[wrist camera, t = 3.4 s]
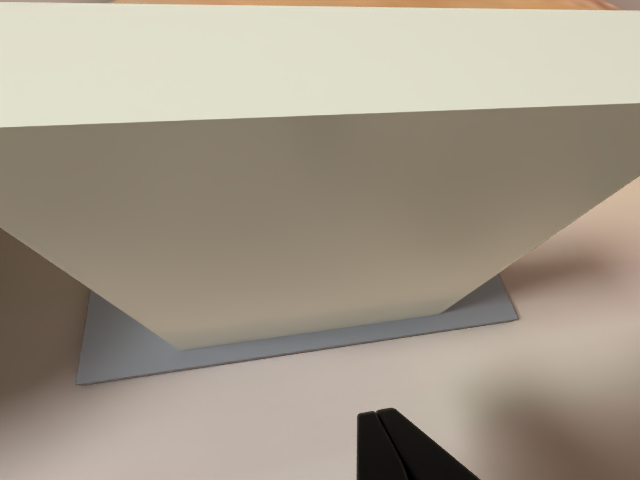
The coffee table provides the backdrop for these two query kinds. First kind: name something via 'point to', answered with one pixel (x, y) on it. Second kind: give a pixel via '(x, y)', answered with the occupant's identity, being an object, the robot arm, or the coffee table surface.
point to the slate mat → (161, 357)
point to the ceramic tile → (305, 153)
